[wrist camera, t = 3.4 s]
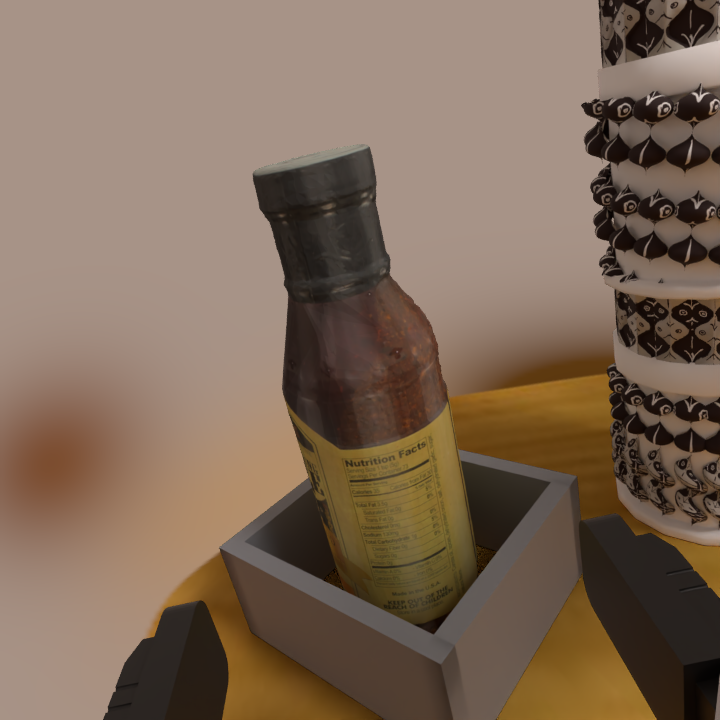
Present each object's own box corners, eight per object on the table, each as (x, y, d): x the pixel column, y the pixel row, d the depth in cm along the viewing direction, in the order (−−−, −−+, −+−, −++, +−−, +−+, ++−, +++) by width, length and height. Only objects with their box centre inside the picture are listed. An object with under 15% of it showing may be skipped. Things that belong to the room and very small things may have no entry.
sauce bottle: (368, 550, 31) (267, 162, 23) (488, 551, 29) (418, 128, 21) (332, 657, 25) (183, 185, 18) (479, 667, 23) (379, 142, 16)
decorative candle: (571, 475, 33) (522, -35, 24) (707, 425, 34) (711, -71, 25) (701, 581, 24) (702, -147, 15) (874, 508, 26) (967, -190, 17)
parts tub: (387, 503, 34) (370, 429, 32) (585, 567, 26) (577, 476, 24) (250, 632, 27) (218, 547, 25) (464, 772, 19) (441, 664, 18)
